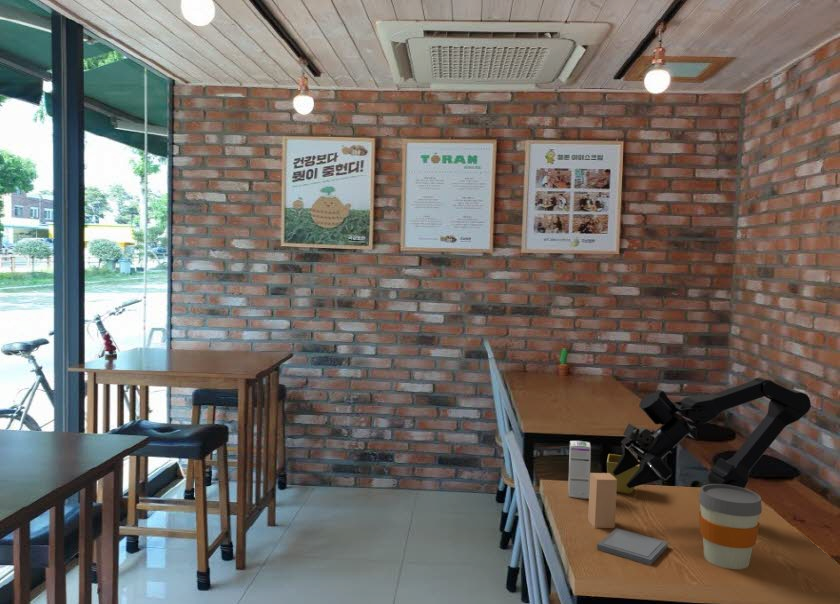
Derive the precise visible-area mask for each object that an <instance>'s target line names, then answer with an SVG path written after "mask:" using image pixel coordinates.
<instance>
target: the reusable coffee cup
mask: <svg viewBox="0 0 840 604" xmlns="http://www.w3.org/2000/svg"><path fill="white" fill-rule="evenodd" d="M698 497H699V498H698V503H699V505H700V511H699V513H698V516H699V517H698V520H699V530H700V531H699V532H700V535H701V537H702V543H703V557H704V559H705V560H706V561H707V562H708V563H710V564H713V565H714V566H717V567H720V568H723V569H728V570H744V569H743V568H745V569H747V568H748V567H749V565H750V561H751V556H752V552H753V547H754V546H755V545H756V542H757V540H758V539H757V538H758V534H759V531H760V530H759V528H760V525H761V524H760V521H759V519H760V515H761V514H762V512H763V511H762V507H763V506H762V497H761V495H759V494H758V493H757V492H755V491H752V490H751V489H747V488H746V487H745V488H741V487H737V486H732V485H725V484H709V483H708V484H704V485H703V486H701V487H700V491H699V496H698ZM746 567H747V568H746Z"/></svg>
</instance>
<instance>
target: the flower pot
mask: <svg viewBox="0 0 840 604" xmlns="http://www.w3.org/2000/svg"><path fill="white" fill-rule="evenodd" d="M621 456H622V454H621V455H620V454H615V453H613V454H612V453H608V455H607V459H606V473H610V474H611V475H612V476H614V477H615V478H616V479H617V492H616V493H623V494H628V495H629V494H631V493H632V492H633V491H634V490H635V487H636V486H635V487H632V488H628V487H627V485H626V484H627V483H628V482H629V480H630V479H631V478H632V477H633V476H634V474H635V473H636V472H637V471H638V470H639V469H640V466H641V461H639V460H638V459H637V458H636V459H637V460H638V461H639V462H640V464H639V465H637V466H635V467H633V468H631V469H629V470H627V471H625V472H623V473H621V474H619V475H616V476H615V475H614V474H613V471H614V469H615V467H616V465H617V463H618V462H619V460H620V458H621Z"/></svg>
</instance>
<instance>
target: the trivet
mask: <svg viewBox="0 0 840 604" xmlns="http://www.w3.org/2000/svg"><path fill="white" fill-rule="evenodd" d="M668 547H669V542H668V541H665V540H661V539H658V538H654V537H650V536H646V535H643V534H639V533H636V532H633V531H629V530H626V529H622V528H617V527H615V528H614V529H613V530H612V531H611V532H610V533H609V534H607V535H606V536H605V537H604V538H603V539H601V540H600V541H599V542H598V543H596V550H598V551H601V552H604V553H608V554H611V555H615V556H618V557H622V558H625V559H628V560H631V561H634V562H638V563H642V564H644V565H648V566H652V565H653V563H655V562H656V560H657V559H658V558H659V557H660V556H661V555H662V554H663V553H664V552H665V551H666V550H667V549H668Z"/></svg>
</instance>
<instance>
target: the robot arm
mask: <svg viewBox="0 0 840 604" xmlns="http://www.w3.org/2000/svg"><path fill="white" fill-rule="evenodd" d="M764 397H765V398H766V399H768V400H770V401H769V402H768V409H767V414H766V415H765V416H764V418H763V419H762V420H761V421H760V423H758V425H757V426H756V427H755V428H754V430H753V431H752V433H751V434H750V435H748V437H747V438H746V440H745V441H744V442H743V444H742V445H741V446H740V447H739V448H738V450H737V451H736V452H735V453H734V454H733V456H732V457H730V458H729V459H726V460H724V459H723V458H721V457H719V458H718V459H717V461H716V462H715V463H714V465H712V467H711V468H709V471H710V472H709V474H708V476H707V480H708V484H725V485H732V486H737V487H741V488H745V489H746V486H747V485H748V483H749V477H750V472H751V470H752V469H753V467H754V466H755V465H756V464H757V462H758V461H759V460H760V459H761V457H762V456H763V455H764V453H766V451H767V450H768V449H769V448H770V446H771V445H772V444H773V442H775V440H776V439H777V438H778V436H779V435H780V434H781V433H782V432H783V430H785V428H786V427H787V426H788V425H792V424H794V423H795V422H798V421H800V420H801V419H802V418H803V417H804V416H805V415H806V414H807V413H808V412H810V409H811V407H812V404H811V399H810V397H809V396H808V394H806V393H804V392H801V391H798V390H795V389H792V388H788V387H784V386H781V385H780V384H778V383H775V382H774V381H773V380H771V379H768V378H764V377H760V376H759V377H756V378H754V379H753V380H750V381H747V382H744V383H742V384H739V385H736V386H733V387H730V388H727V389H724V390H721V391H718V392H715V393H712V394H698V395H697V394H696V395H691V396H687V397H683V398H682V399H681V400H680V401H671V399H670V398H669V397H668V395H667V394H666V393H665V392H664V390H661V389H657V391H656V392H652V393H650V394H648V395H645V396H643V398H642V399H641V400H640V402H639V405H638V406H639V408H640V409H641V410H642V412H643V413H644V414H645V415H646V416H647V417H648V418H649V419H650V420H651V422H653V424H654V425H660V426H659V427H658V428H657V429H655V430H654V429H648V428H646V427H643V426H642V427H641V428H640V427H637V426H635V425H633V424H631V423H629V422H628V424H627V426H626V428H625V429H624V431H623V433H622V434H623V436H625V437H624V438H623V439H622V440H621V441H620V442H621V445H620V446H621V452H622V454H621V455H622V456H621V458H620V460H619V462H618V463H617V465H616V467H615V469H614V471H613V474H614V475H615V476H616V475H619V474H621V473H623V472H625V471H627V470H629V469H631V468H633V467H635V466H637V465H639V464H640V466H639V470H638V471H637V472H636V473H635V474H634V476H633V477H632V478H631V479H630V480H629V482H628V483H627V484H626V485H627V487H628V488H632V487H639V486H643V485H645V484H649V483H652V482H656V481H657V482H658V481H662V480H665V481H667V480H668V479H669V478H671V477H672V474H673V473H672V472H673V469H672V468H671V467H670V466H669V465H668V464H667V463H666V462H665V461H664V460H663V459H664V458H665V457H666V455H668V454H669V453H670V454H674V453H675V452H676V450H675V449H674V448H675V447H676V446H677V445H678V444H680V442H682V441H683V440H684V439H685V438H686V437H687V436H689V437H691V438H692V439H694V440H696V439H698V433H697V430H698V428H697V427H696V426H695V425H690V424H689V423H688V421H690V422H692V423H694V424H696V425H698V426H702V425H705V424H707V423H709V422H711V421H713V420H714V419H717V417H718V416H719V415H720V414H721V413H723V412H724V411H726V410H730V409H732V408H733V409H734V408H735V407H739V406H741V405H743V404H746V403H749V402H752V401H755V400H758V399H760V398H764ZM676 414H677V415H676ZM678 415H679V416H681V417H678ZM687 420H688V421H687ZM636 458H637V459H638V460H639V461H640V462H639V461H638V460H637V459H636Z"/></svg>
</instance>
